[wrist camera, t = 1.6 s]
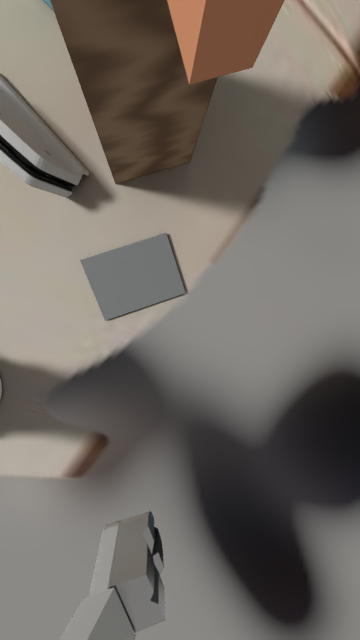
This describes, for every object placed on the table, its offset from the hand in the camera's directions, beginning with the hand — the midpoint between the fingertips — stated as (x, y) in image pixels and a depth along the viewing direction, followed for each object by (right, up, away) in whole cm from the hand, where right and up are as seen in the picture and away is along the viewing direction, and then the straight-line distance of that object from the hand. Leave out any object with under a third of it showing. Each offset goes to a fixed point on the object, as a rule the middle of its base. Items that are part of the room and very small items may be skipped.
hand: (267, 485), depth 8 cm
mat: (-10, +13, +28) cm, 33 cm away
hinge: (-25, +31, +23) cm, 46 cm away
